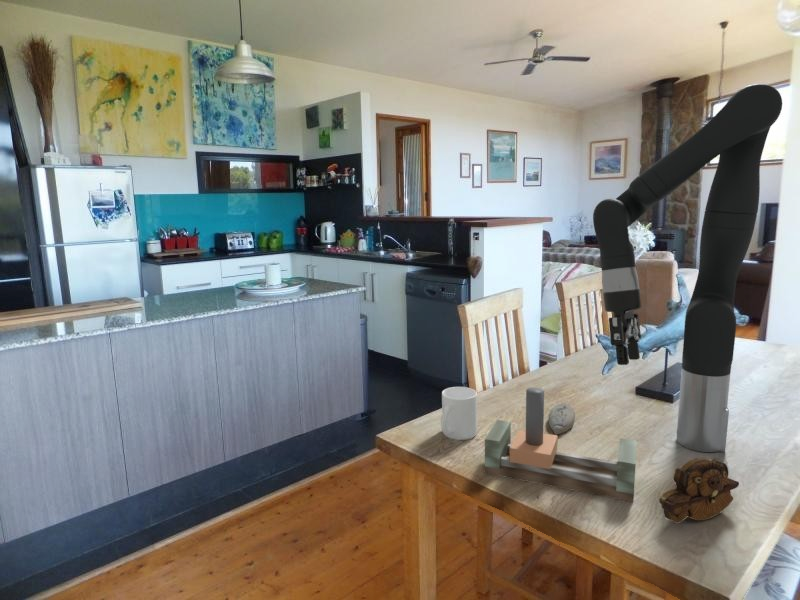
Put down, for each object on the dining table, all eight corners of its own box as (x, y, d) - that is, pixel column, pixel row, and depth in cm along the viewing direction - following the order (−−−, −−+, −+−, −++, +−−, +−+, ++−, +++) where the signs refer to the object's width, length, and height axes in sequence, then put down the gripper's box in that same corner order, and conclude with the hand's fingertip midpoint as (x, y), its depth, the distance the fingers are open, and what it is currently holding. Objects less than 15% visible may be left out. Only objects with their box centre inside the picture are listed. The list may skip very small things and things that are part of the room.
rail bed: (634, 475, 105) (636, 440, 104) (633, 501, 96) (635, 464, 95) (497, 451, 117) (497, 419, 115) (484, 472, 108) (484, 439, 106)
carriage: (557, 448, 110) (559, 385, 108) (550, 469, 102) (552, 401, 100) (519, 442, 114) (520, 381, 111) (509, 461, 106) (510, 396, 103)
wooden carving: (678, 537, 86) (683, 482, 84) (654, 522, 90) (658, 469, 88) (742, 510, 93) (748, 458, 91) (717, 497, 97) (722, 447, 95)
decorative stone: (544, 435, 124) (545, 422, 123) (551, 410, 138) (552, 398, 137) (571, 439, 122) (572, 425, 121) (576, 413, 136) (576, 401, 135)
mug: (458, 450, 118) (457, 407, 116) (427, 441, 123) (426, 399, 121) (483, 431, 127) (483, 390, 125) (453, 423, 132) (453, 384, 130)
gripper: (629, 288, 109) (638, 366, 108) (647, 286, 120) (655, 357, 119) (593, 292, 113) (601, 367, 113) (613, 290, 124) (621, 358, 124)
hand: (629, 361), depth 116 cm, fingers open, 8 cm apart
